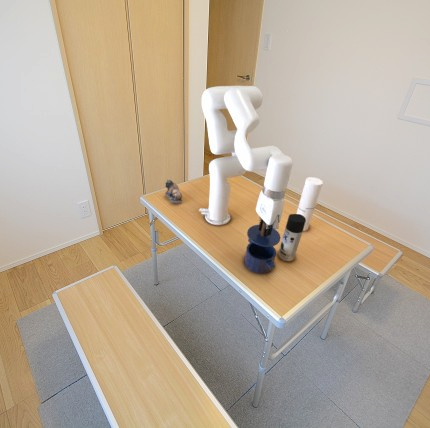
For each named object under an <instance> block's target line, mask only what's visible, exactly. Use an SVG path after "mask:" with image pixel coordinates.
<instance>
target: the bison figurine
mask: <svg viewBox="0 0 430 428" xmlns="http://www.w3.org/2000/svg"><path fill="white" fill-rule="evenodd" d="M165 188H166V189H167V190H166V192H165V193H164V195H165V197H167V198H168V199H169V202H171V203H172V204H181V203H183V196H182V193H181V190H180V188H179V186H178V184H177V183H176V182H173V180H172V179H166V182H165Z"/></svg>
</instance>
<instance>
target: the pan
mask: <svg viewBox="0 0 430 428" xmlns="http://www.w3.org/2000/svg"><path fill="white" fill-rule="evenodd" d="M247 240H248V244H247V246H246V248H245V254H244V266H245V267H246V268H247V269H248V270H249V271H251V272H253V273H254V274H255V273H256V274H267V273H269V272H271V271H272V270H273V269H274V268H275V269H276V265H275V261H276V257H277V250H276V248H275V246H271V247H263V246H259V245H257V244H255V243H253V242H252V241H251V240H250V239H249V238H247Z"/></svg>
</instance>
